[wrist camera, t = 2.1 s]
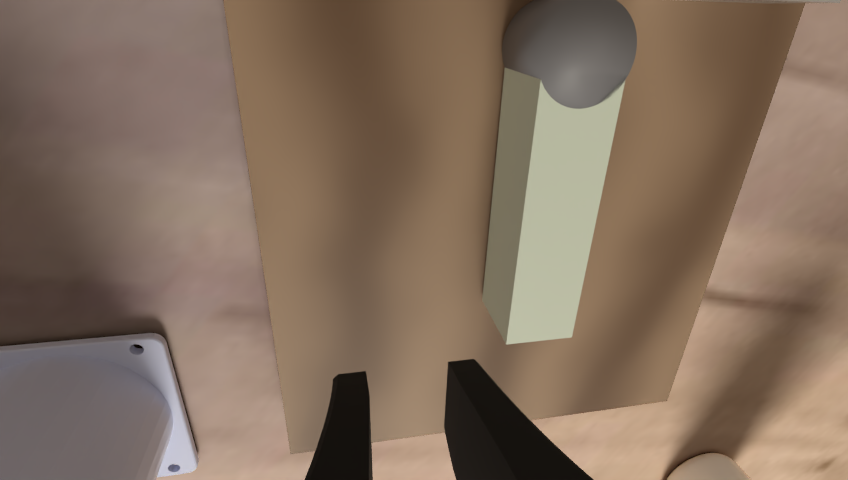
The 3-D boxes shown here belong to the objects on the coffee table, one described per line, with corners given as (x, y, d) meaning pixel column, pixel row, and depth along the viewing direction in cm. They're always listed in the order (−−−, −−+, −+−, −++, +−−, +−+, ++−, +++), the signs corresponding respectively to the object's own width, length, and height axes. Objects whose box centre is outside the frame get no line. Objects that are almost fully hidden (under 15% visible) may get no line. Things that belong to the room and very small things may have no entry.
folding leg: (506, -5, 14) (546, -7, 11) (592, -2, 14) (647, -4, 12) (478, 300, 19) (502, 344, 16) (543, 294, 19) (575, 336, 17)
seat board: (293, 419, 23) (290, 454, 21) (219, -116, 13) (203, -135, 11) (643, 374, 26) (666, 400, 24) (781, -75, 17) (835, -85, 15)
